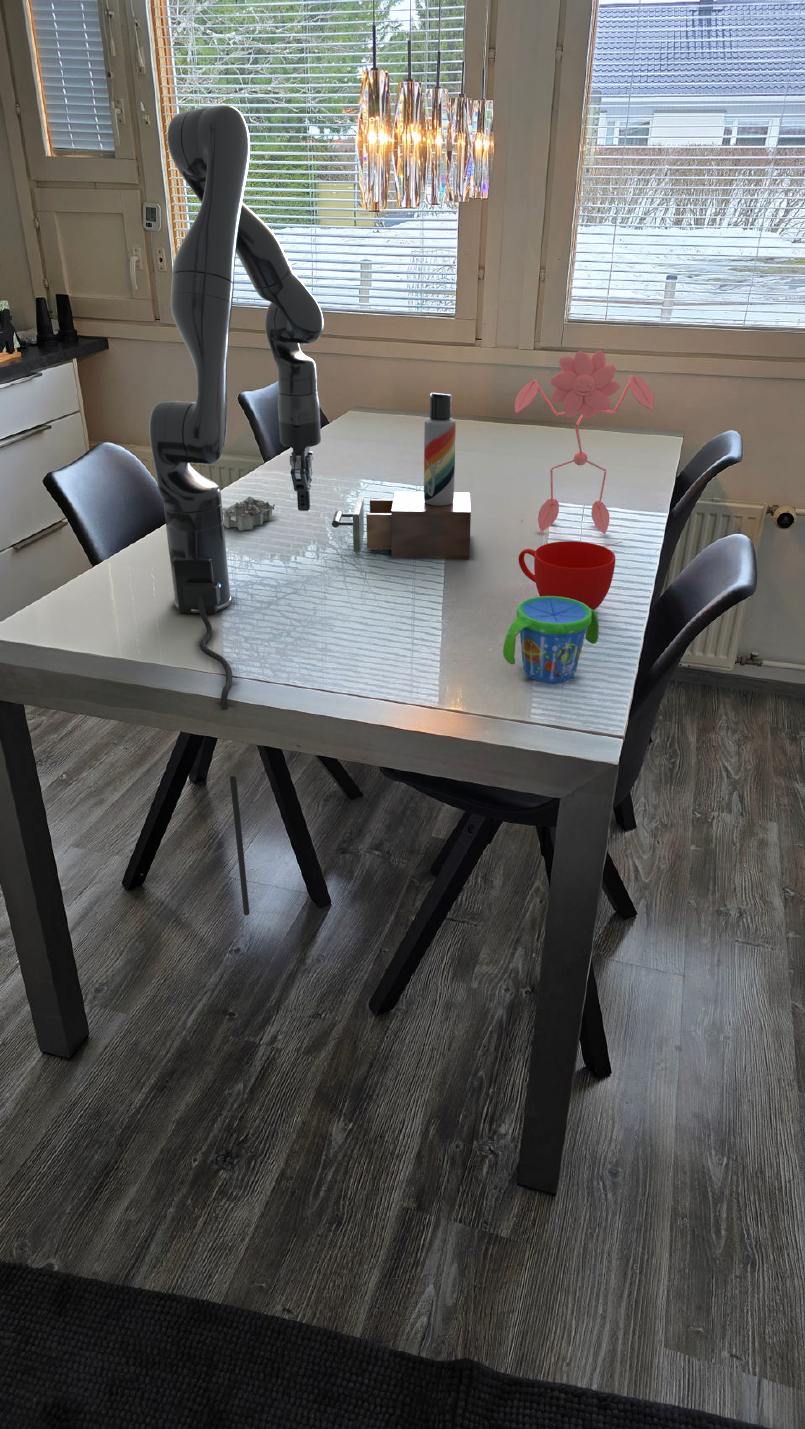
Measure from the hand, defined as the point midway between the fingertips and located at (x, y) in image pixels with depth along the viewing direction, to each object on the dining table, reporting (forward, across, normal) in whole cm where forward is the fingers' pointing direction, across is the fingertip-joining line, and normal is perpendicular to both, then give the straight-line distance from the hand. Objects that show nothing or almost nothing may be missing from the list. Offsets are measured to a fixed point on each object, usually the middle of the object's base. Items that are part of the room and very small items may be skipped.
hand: (304, 509), depth 191 cm
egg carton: (+8, -14, -14) cm, 21 cm away
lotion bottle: (-2, 0, +26) cm, 26 cm away
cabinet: (+7, 0, +24) cm, 25 cm away
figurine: (+8, -7, +52) cm, 53 cm away
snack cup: (+7, +54, +42) cm, 69 cm away
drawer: (+6, 0, +14) cm, 16 cm away
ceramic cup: (+7, +29, +46) cm, 55 cm away
